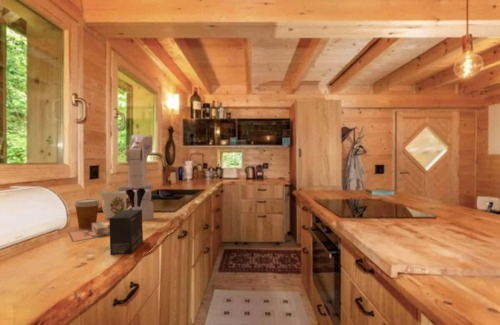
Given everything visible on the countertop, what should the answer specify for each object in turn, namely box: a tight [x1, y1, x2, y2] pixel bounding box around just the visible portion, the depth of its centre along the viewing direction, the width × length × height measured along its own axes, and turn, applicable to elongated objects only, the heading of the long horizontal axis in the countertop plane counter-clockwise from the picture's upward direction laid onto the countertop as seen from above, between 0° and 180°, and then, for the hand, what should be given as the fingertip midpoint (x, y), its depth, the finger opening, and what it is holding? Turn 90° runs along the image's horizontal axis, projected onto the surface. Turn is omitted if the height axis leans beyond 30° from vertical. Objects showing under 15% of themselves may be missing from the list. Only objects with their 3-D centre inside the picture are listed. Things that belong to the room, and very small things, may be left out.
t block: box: [91, 220, 110, 236], centre depth 110 cm, size 11×12×3 cm
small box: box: [108, 209, 144, 256], centre depth 91 cm, size 13×7×12 cm, turn 7°
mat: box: [67, 228, 110, 243], centre depth 108 cm, size 21×16×1 cm
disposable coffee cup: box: [74, 198, 101, 229], centre depth 117 cm, size 10×10×12 cm
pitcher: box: [97, 190, 132, 220], centre depth 136 cm, size 11×18×14 cm, turn 139°
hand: (135, 206), depth 116 cm, fingers closed
